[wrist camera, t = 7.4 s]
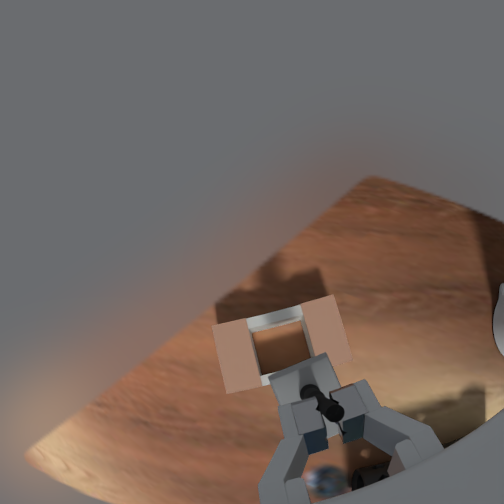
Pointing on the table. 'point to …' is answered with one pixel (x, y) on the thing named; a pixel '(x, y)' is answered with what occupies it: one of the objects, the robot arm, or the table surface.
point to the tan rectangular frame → (240, 331)
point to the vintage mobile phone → (310, 387)
